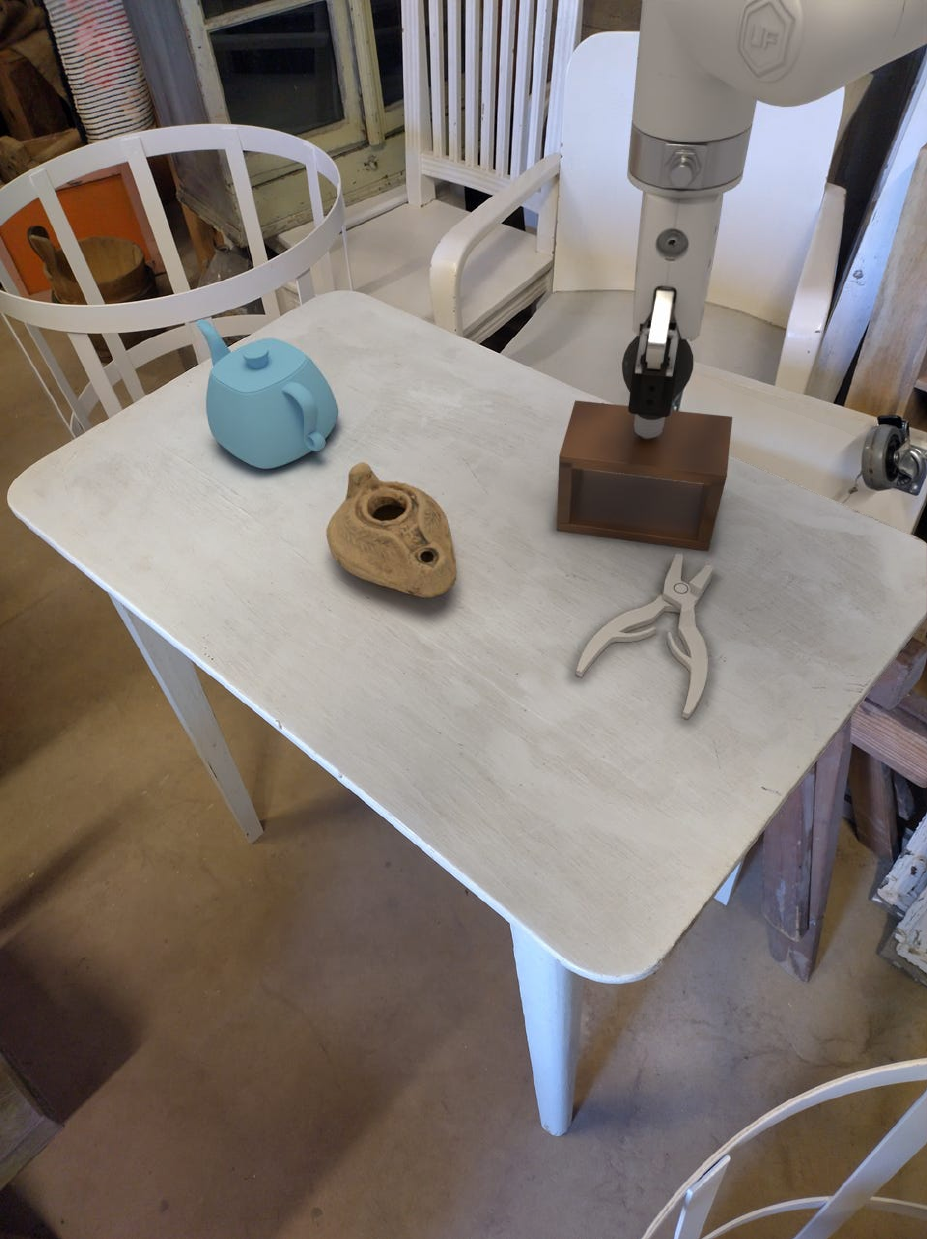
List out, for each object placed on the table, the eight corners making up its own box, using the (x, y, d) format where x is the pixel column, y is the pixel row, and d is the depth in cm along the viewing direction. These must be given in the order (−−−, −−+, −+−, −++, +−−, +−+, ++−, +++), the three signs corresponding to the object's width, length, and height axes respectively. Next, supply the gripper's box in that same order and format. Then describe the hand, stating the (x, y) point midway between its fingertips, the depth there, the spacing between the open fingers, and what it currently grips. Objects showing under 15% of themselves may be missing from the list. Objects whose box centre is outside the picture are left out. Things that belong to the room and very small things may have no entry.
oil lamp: (416, 641, 70) (405, 578, 63) (307, 557, 77) (288, 493, 71) (503, 570, 74) (501, 505, 68) (393, 497, 81) (382, 432, 75)
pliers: (574, 662, 65) (642, 541, 73) (573, 674, 66) (640, 553, 74) (693, 709, 62) (751, 577, 70) (690, 720, 63) (747, 589, 71)
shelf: (714, 493, 79) (732, 416, 72) (708, 551, 74) (727, 475, 67) (570, 475, 82) (575, 400, 75) (556, 530, 77) (559, 455, 70)
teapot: (243, 290, 88) (354, 348, 79) (267, 376, 96) (371, 436, 88) (144, 342, 82) (252, 410, 74) (179, 428, 91) (280, 498, 82)
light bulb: (643, 408, 73) (657, 305, 66) (693, 435, 71) (714, 331, 63) (601, 436, 71) (610, 333, 64) (651, 466, 68) (666, 361, 61)
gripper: (740, 215, 47) (694, 449, 60) (752, 102, 58) (710, 323, 71) (610, 208, 49) (593, 438, 62) (644, 99, 59) (623, 316, 72)
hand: (655, 377), depth 66 cm, fingers open, 9 cm apart
